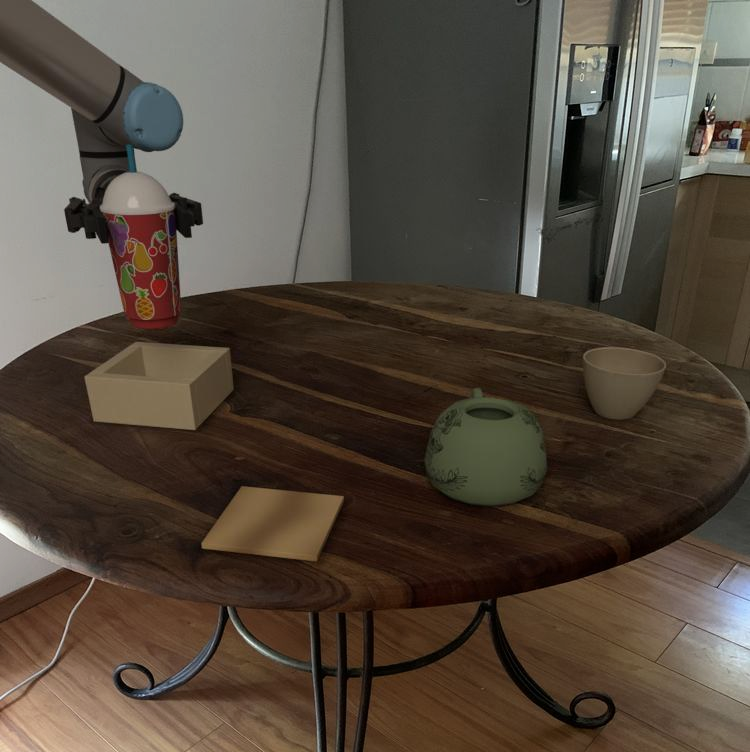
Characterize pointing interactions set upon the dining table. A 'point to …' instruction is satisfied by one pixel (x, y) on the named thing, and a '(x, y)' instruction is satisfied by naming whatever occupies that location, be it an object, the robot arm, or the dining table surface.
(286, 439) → the dining table surface
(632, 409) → the flower pot
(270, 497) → the cork mat
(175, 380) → the square beige tray
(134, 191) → the smoothie
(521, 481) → the green rounded ceramic pot
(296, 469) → the dining table surface
